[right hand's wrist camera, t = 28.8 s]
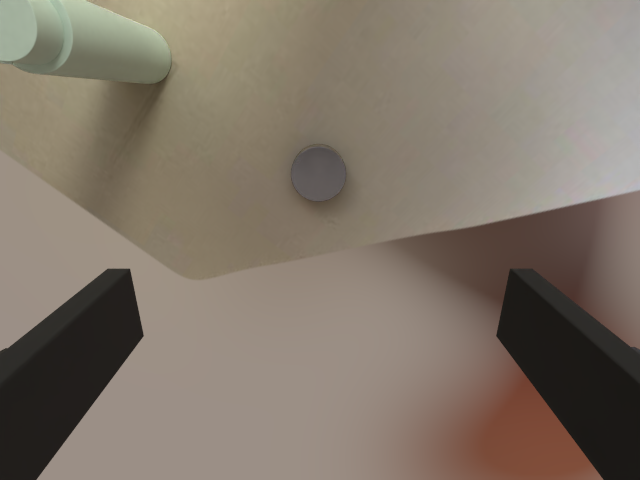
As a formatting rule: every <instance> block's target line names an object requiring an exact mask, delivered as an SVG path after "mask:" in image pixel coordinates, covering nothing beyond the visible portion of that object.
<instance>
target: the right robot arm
mask: <svg viewBox="0 0 640 480" xmlns="http://www.w3.org/2000/svg"><path fill="white" fill-rule="evenodd" d="M496 336H497V337H498V339H499V340H500V341H501V343H502V344H503V345H504V347H505V348H506V349H507V351H508V352H509V353H510V355H511V356H512V357H513V359H514V360H515V362H516V363H517V364H518V365H519V367H520V368H521V370H522V371H523V372H524V374H525V375H526V376H527V378H528V379H529V380H530V382H531V383H532V384H533V386H534V387H535V388H536V390H537V391H538V392H539V394H540V395H541V396H542V398H543V399H544V400H545V402H546V403H547V404H548V406H549V407H550V408H551V410H552V411H553V412H554V414H555V415H556V416H557V418H558V419H559V420H560V422H561V423H562V424H563V426H564V427H565V428H566V430H567V431H568V433H569V434H570V435H571V436H572V438H573V439H574V440H575V442H576V443H577V445H578V446H579V447H580V449H581V450H582V451H583V453H584V454H585V455H586V457H587V458H588V459H589V461H590V462H591V463H592V465H593V466H594V467H595V469H596V470H597V471H598V473H599V474H600V475H601V477H602V478H603V479H604V480H640V350H639V349H637V348H635V347H630V346H629V345H627V344H626V343H625V342H624V341H622V340H621V339H620V338H619V337H617V336H616V335H615V334H613V333H612V332H611V331H610V330H608V329H607V328H606V327H605V326H603V325H602V324H601V323H600V322H598V321H597V320H596V319H595V318H593V317H592V316H591V315H589V314H588V313H587V312H586V311H585V310H583V309H582V308H581V307H580V306H578V305H577V304H576V303H575V302H573V301H572V300H571V299H570V298H568V297H567V296H566V295H565V294H563V293H562V292H561V291H559V290H558V289H557V288H556V287H554V286H553V285H552V284H551V283H549V282H548V281H547V280H546V279H544V278H543V277H542V276H541V275H539V274H538V273H537V272H536V271H534V270H533V269H510V272H509V277H508V281H507V286H506V291H505V296H504V301H503V306H502V311H501V316H500V321H499V325H498V330H497V335H496ZM142 337H143V330H142V326H141V321H140V316H139V311H138V306H137V301H136V296H135V291H134V286H133V281H132V277H131V272H130V269H107V270H106V271H104V272H103V273H102V274H101V275H99V276H98V277H97V278H96V279H94V280H93V281H92V282H91V283H89V284H88V285H87V286H86V287H84V288H83V289H82V290H81V291H79V292H78V293H77V294H75V295H74V296H73V297H72V298H70V299H69V300H68V301H67V302H66V303H64V304H63V305H62V306H60V307H59V308H58V309H57V310H55V311H54V312H53V313H52V314H50V315H49V316H48V317H47V318H45V319H44V320H43V321H42V322H40V323H39V324H38V325H37V326H35V327H34V328H33V329H32V330H30V331H29V332H28V333H27V334H25V335H24V336H23V337H22V338H20V339H19V340H18V341H17V342H15V343H14V344H13V345H11V346H10V347H9V348H5V349H4V350H2V351H0V480H36V479H37V478H38V477H39V475H40V474H41V473H42V471H43V470H44V469H45V467H46V466H47V465H48V463H49V462H50V461H51V459H52V458H53V457H54V455H55V454H56V453H57V451H58V450H59V449H60V447H61V446H62V445H63V443H64V442H65V441H66V439H67V438H68V437H69V435H70V434H71V433H72V431H73V430H74V429H75V427H76V426H77V424H78V423H79V422H80V420H81V419H82V418H83V416H84V415H85V414H86V412H87V411H88V410H89V408H90V407H91V406H92V404H93V403H94V402H95V400H96V399H97V398H98V396H99V395H100V394H101V392H102V391H103V390H104V388H105V387H106V386H107V384H108V383H109V382H110V380H111V379H112V378H113V376H114V375H115V374H116V372H117V371H118V370H119V368H120V367H121V365H122V364H123V363H124V362H125V360H126V359H127V358H128V356H129V355H130V354H131V352H132V351H133V349H134V348H135V347H136V345H137V344H138V343H139V341H140V340H141V339H142Z"/></svg>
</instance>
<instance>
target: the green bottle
mask: <svg viewBox="0 0 640 480" xmlns="http://www.w3.org/2000/svg"><path fill="white" fill-rule="evenodd" d="M0 63H4V64H12V65H14V66H15V67H17V68H19V69H21V70H23V71H26V72H29V73H34V74H43V75H54V76H65V77H76V78H87V79H98V80H109V81H120V82H131V83H142V84H154V83H157V82H160V81H161V80H163V79H164V78H165V77H166V75H167V74H168V72H169V70H170V67H171V53H170V49H169V46H168V44H167V42H166V41H165V39H164V38H163V37H162V36H161V35H160V34H159V33H158V32H157V31H155V30H154V29H152V28H150V27H147V26H145V25H142V24H140V23H138V22H135V21H133V20H131V19H128V18H126V17H124V16H121V15H119V14H117V13H114V12H112V11H109V10H107V9H105V8H102V7H100V6H98V5H95V4H93V3H91V2H88V1H86V0H0Z"/></svg>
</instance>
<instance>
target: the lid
mask: <svg viewBox="0 0 640 480" xmlns="http://www.w3.org/2000/svg"><path fill="white" fill-rule="evenodd" d="M291 179H292V183H293V185H294V187H295V189H296V190H297V192H298V193H299V194H300V195H302V196H303V197H304V198H306V199H308V200H312V201H326V200H329V199H331V198H333V197H334V196H336V195H337V194H338V193H339V192H340V190H341V189H342V187H343V185H344V183H345V179H346V169H345V165H344V163H343V160H342V158H341V156H340V155H339V153H338V152H337V151H336V150H335V149H333V148H332V147H330V146H327V145H324V144H313V145H310V146H307V147H306V148H304V149H303V150H301V151H300V152H299V154H298V155H297V156H296V158H295V160H294V163H293V165H292V169H291Z"/></svg>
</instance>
